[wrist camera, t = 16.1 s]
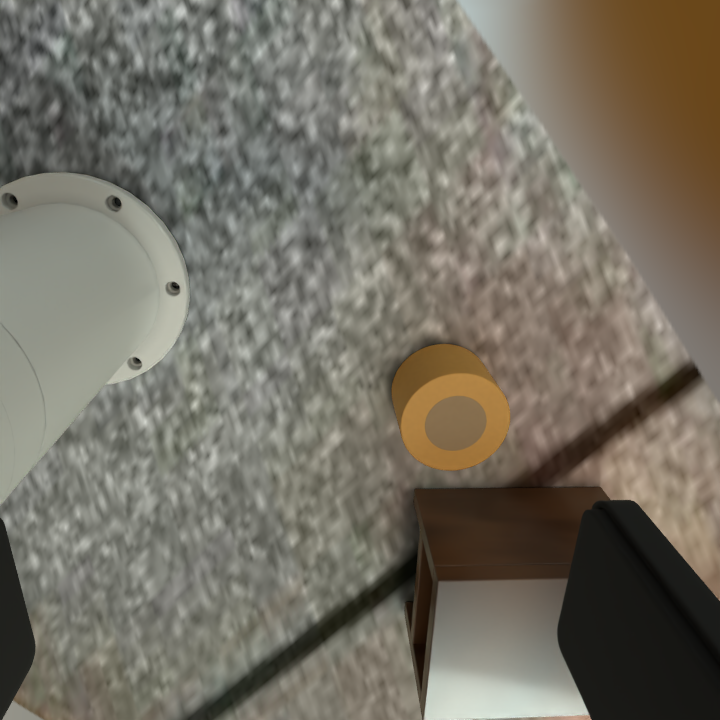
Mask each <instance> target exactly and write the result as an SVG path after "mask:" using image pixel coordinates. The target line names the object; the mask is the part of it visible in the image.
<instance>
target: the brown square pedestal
mask: <svg viewBox="0 0 720 720" xmlns="http://www.w3.org/2000/svg"><path fill="white" fill-rule="evenodd" d="M601 500H610V498H609V497H608V496H607V495H606V493H605V492H604V491H603V490H602V488H601V487H564V488H465V489H415V490H414V501H413V502H414V506H415V511H416V515H417V519H418V523H419V527H420V535H419V546H418V558H417V569H416V580H415V592H414V602H406V603H405V619H406V625H407V631H408V637H409V643H410V649H411V655H412V661H413V667H414V673H415V679H416V684H417V690H418V696H419V702H420V708H421V714H422V720H476V719H502V718H527V717H553V716H579V715H589V713H588V710H587V708H586V706H585V704H584V702H583V699H582V697H581V695H580V693H579V691H578V688H577V686H576V684H575V682H574V680H573V677H572V675H571V673H570V671H569V669H568V667H567V664H566V662H565V660H564V658H563V656H562V653H561V651H560V648H559V644H558V638H557V627H558V622H559V618H560V613H561V609H562V604H563V600H564V595H565V591H566V586H567V582H568V577H569V573H570V568H571V564H572V559H573V555H574V550H575V546H576V541H577V537H578V532H579V528H580V523H581V519H582V515H583V513H584V511H585V510H591V509H592V506H593V504H594V503H595V502H596V501H601Z"/></svg>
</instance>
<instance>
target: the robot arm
mask: <svg viewBox="0 0 720 720" xmlns="http://www.w3.org/2000/svg"><path fill="white" fill-rule="evenodd" d="M14 196H15V197H16V199H17V201H18V204H17V203H16V202H15V201H14V199H13V198H14ZM115 198H119V199H120V201H121V206H120V207H119V206H117V205H116V204H115V202H114V201H115ZM172 282H176V283H177V284H178V285H179V286H180V287H179V289H175V288H174V287H173V285H172ZM189 303H190V283H189V277H188V272H187V268H186V264H185V260H184V258H183V256H182V253H181V251H180V249H179V246H178V244H177V242H176V240H175V239H174V237H173V236H172V234H171V233H170V231H169V230H168V228H167V227H166V225H165V224H164V222H163V221H162V220H161V219H160V218H159V217H158V216H157V215H156V214H155V213H154V212H153V211H152V210H151V209H150V208H149V207H148V206H147V205H146V204H144V203H143V202H142V201H140V200H139V199H138V198H136V197H135V196H134V195H132V194H131V193H130V192H128V191H126V190H124V189H122V188H120V187H118V186H116V185H114V184H112V183H110V182H108V181H105V180H102V179H99V178H96V177H92V176H89V175H85V174H77V173H69V172H55V173H42V174H37V175H32V176H27V177H23V178H20V179H18V180H15V181H13V182H10V183H8V184H6V185H4V186H2V187H1V188H0V505H1V504H2V503H3V502H4V500H5V499H6V498H7V497H8V496H9V495H10V493H11V492H12V491H13V490H14V489H15V488H16V486H17V485H18V484H19V483H20V482H21V481H22V480H23V478H24V477H25V476H26V475H27V474H28V473H29V472H30V471H31V470H32V469H33V467H34V466H35V465H36V464H37V463H38V462H39V460H40V459H41V458H42V457H43V456H44V455H45V454H46V452H47V451H48V450H49V449H50V448H51V447H52V445H53V444H54V443H55V442H56V441H57V440H58V439H59V437H60V436H61V435H62V434H63V433H64V432H65V430H66V429H67V428H68V427H69V426H70V425H71V424H72V422H73V421H74V420H75V419H76V418H77V417H78V415H79V414H80V413H81V412H82V411H83V410H84V409H85V407H86V406H87V405H88V404H89V403H90V402H91V400H92V399H93V398H94V397H95V396H96V395H97V394H98V392H99V391H100V390H101V389H102V388H103V387H104V385H105V384H114V383H118V382H121V381H125V380H129V379H132V378H134V377H136V376H138V375H140V374H142V373H144V372H146V371H148V370H149V369H150V368H151V367H153V366H154V365H155V364H157V363H158V362H159V361H161V360H162V358H163V357H164V356H165V355H166V354H167V353H168V351H169V350H170V349H171V348H172V347H173V345H174V344H175V342H176V340H177V339H178V337H179V336H180V334H181V332H182V329H183V327H184V324H185V322H186V319H187V315H188V309H189ZM135 357H136V358H138V359H140V360H141V361H137V360H136V359H135ZM557 638H558V644H559V648H560V651H561V653H562V656H563V658H564V660H565V662H566V664H567V667H568V669H569V671H570V673H571V675H572V677H573V680H574V682H575V684H576V686H577V688H578V691H579V693H580V695H581V697H582V699H583V702H584V704H585V706H586V708H587V710H588V713H589V715H590V717H591V719H592V720H720V601H719V600H718V599H717V598H716V596H715V595H714V594H713V593H712V592H711V590H710V589H709V588H708V587H707V586H706V585H705V583H704V582H703V581H702V580H701V579H700V577H699V576H698V575H697V574H696V573H695V572H694V570H693V569H692V568H691V567H690V566H689V564H688V563H687V562H686V561H685V560H684V558H683V557H682V556H681V555H680V554H679V553H678V551H677V550H676V549H675V548H674V547H673V545H672V544H671V543H670V542H669V541H668V540H667V538H666V537H665V536H664V535H663V534H662V532H661V531H660V530H659V529H658V528H657V527H656V525H655V524H654V523H653V522H652V521H651V519H650V518H649V517H648V516H647V515H646V513H645V512H644V511H643V510H642V509H641V508H640V506H639V505H638V504H637V503H635V502H634V501H631V500H601V501H596V502H595V503H594V504H593V506H592V509H591V510H585V511H584V513H583V515H582V519H581V523H580V528H579V532H578V537H577V541H576V546H575V550H574V555H573V559H572V564H571V568H570V573H569V577H568V582H567V586H566V591H565V595H564V600H563V604H562V609H561V613H560V618H559V622H558V627H557ZM34 655H35V640H34V636H33V632H32V628H31V624H30V620H29V616H28V613H27V609H26V605H25V601H24V597H23V593H22V589H21V586H20V582H19V578H18V574H17V570H16V566H15V563H14V559H13V555H12V551H11V547H10V543H9V539H8V536H7V532H6V528H5V524H4V522H3V520H2V519H1V518H0V720H2V719H3V716H4V715H5V713H6V711H7V710H8V708H9V706H10V704H11V702H12V701H13V699H14V697H15V695H16V693H17V691H18V690H19V688H20V686H21V684H22V682H23V680H24V679H25V677H26V675H27V673H28V671H29V669H30V667H31V665H32V662H33V659H34Z"/></svg>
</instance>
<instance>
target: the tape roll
mask: <svg viewBox="0 0 720 720" xmlns="http://www.w3.org/2000/svg"><path fill="white" fill-rule="evenodd" d="M392 401H393V405H394V409H395V413H396V417H397V421H398V425H399V428H400V432H401V436H402V439H403V442H404V444H405V446H406V448H407V450H408V451H409V452H410V454H411V455H412V456H413V457H414V458H416V459H417V460H418V461H419V462H421V463H423V464H425V465H427V466H429V467H431V468H435V469H439V470H450V471H452V470H461V469H466V468H469V467H472V466H475V465H477V464H479V463H481V462H483V461H484V460H486V459H487V458H489V457H490V456H491V455H492V454H493V453H494V452H495V451H496V450H497V449H498V448H499V447H500V445H501V444H502V442H503V441H504V439H505V437H506V435H507V432H508V429H509V424H510V409H509V405H508V402H507V399H506V397H505V396H504V394H503V392H502V391H501V389H500V388H499V386H498V385H497V384H496V382H495V381H494V379H493V378H492V376H491V375H490V373H489V372H488V370H487V369H486V368H485V366H484V365H483V363H482V362H481V361H480V359H479V358H478V357H477V356H476V355H475V354H474V353H472V352H471V351H469V350H467V349H465V348H463V347H460V346H457V345H452V344H436V345H431V346H428V347H425V348H422V349H420V350H418V351H417V352H415V353H413V354H412V355H411V356H409V357H408V358H407V359H406V360H405V361H404V362H403V363H402V365H401V366H400V367H399V369H398V370H397V372H396V374H395V377H394V379H393V383H392Z"/></svg>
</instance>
